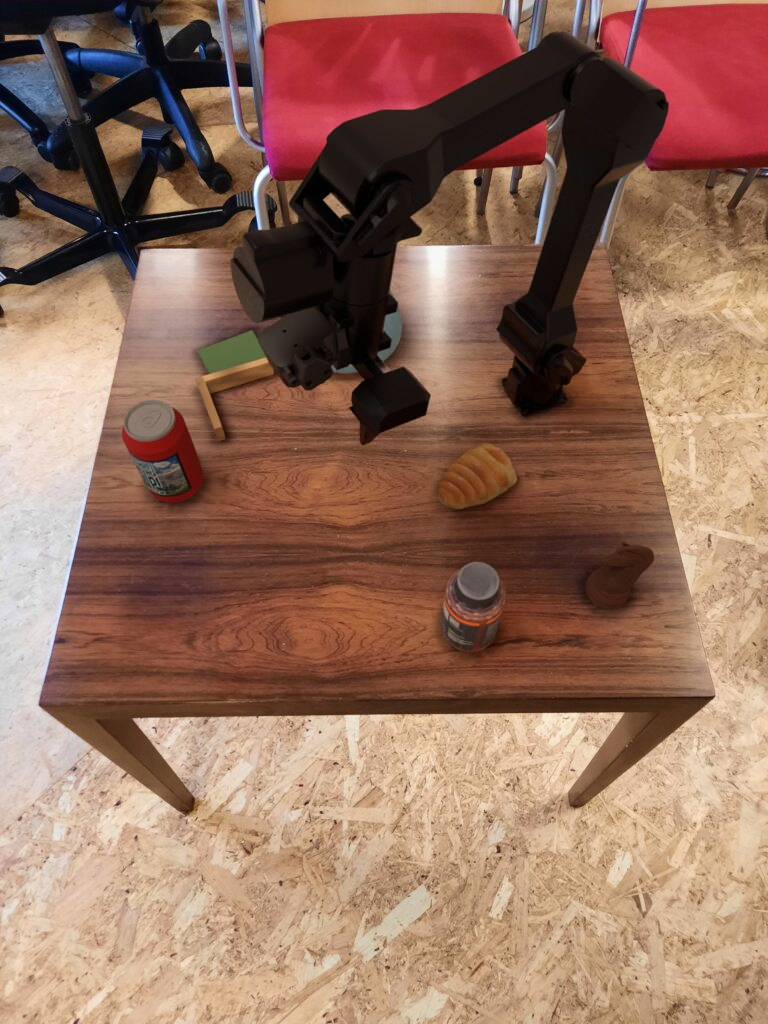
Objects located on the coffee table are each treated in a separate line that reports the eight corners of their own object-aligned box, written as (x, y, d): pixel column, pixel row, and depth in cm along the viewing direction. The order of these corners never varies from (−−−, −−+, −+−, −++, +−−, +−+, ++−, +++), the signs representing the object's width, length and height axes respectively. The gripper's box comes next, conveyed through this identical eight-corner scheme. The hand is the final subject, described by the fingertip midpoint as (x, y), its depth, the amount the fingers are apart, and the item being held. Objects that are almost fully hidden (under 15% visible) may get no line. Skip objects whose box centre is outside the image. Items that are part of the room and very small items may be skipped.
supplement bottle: (500, 608, 79) (516, 559, 69) (491, 660, 76) (506, 616, 66) (446, 596, 80) (454, 546, 70) (434, 647, 77) (441, 601, 67)
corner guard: (271, 369, 97) (269, 356, 95) (293, 417, 93) (291, 404, 91) (199, 391, 95) (195, 378, 93) (218, 441, 91) (214, 429, 89)
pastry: (461, 526, 84) (464, 509, 81) (423, 488, 87) (424, 470, 84) (520, 484, 87) (525, 465, 84) (481, 448, 90) (484, 429, 87)
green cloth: (252, 331, 100) (252, 329, 100) (270, 360, 98) (269, 358, 97) (197, 352, 99) (196, 350, 98) (213, 382, 96) (213, 380, 96)
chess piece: (582, 571, 81) (605, 526, 73) (628, 572, 81) (657, 527, 73) (587, 609, 79) (612, 567, 70) (635, 610, 79) (665, 568, 70)
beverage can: (137, 495, 87) (103, 433, 76) (167, 452, 90) (138, 387, 80) (187, 513, 85) (160, 452, 75) (215, 469, 89) (193, 405, 78)
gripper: (221, 244, 63) (228, 377, 76) (329, 384, 55) (318, 507, 67) (332, 217, 68) (322, 347, 80) (448, 342, 59) (417, 465, 72)
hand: (342, 412), depth 75 cm, fingers open, 9 cm apart
